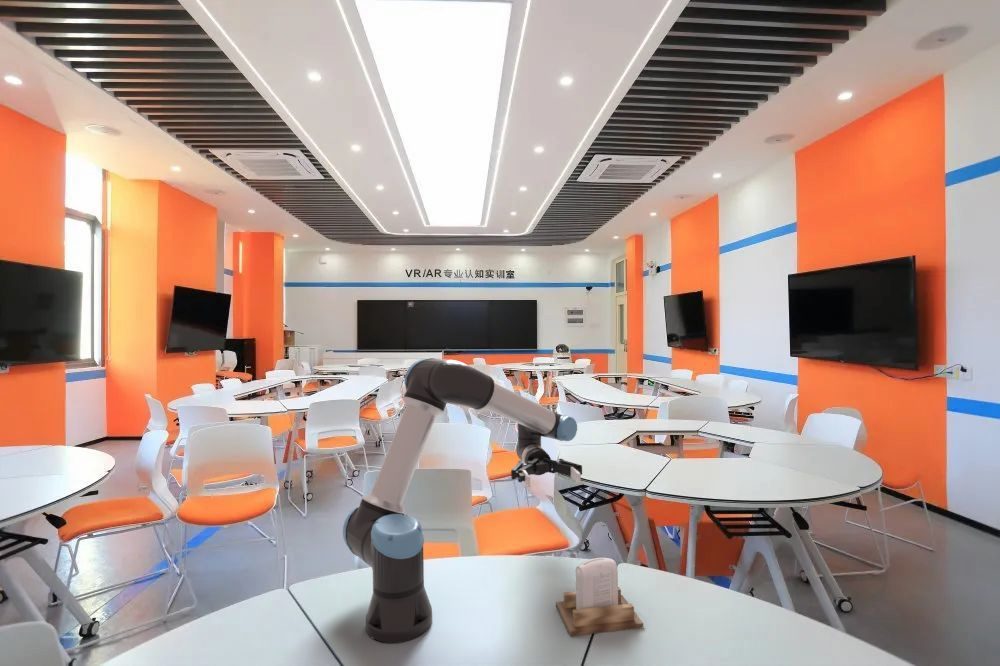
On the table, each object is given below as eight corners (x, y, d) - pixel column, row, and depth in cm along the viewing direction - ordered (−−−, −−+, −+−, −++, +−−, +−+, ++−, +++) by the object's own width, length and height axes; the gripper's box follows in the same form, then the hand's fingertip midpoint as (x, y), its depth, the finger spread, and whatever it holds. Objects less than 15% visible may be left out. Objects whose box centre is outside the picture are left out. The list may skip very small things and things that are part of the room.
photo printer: (611, 602, 118) (610, 551, 118) (621, 612, 114) (620, 559, 114) (573, 611, 114) (572, 559, 114) (582, 622, 110) (581, 567, 110)
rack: (570, 636, 107) (569, 617, 107) (556, 606, 119) (555, 589, 119) (643, 627, 109) (643, 609, 109) (622, 599, 121) (621, 583, 121)
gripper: (576, 469, 151) (600, 491, 130) (496, 474, 147) (507, 498, 126) (575, 445, 151) (599, 463, 130) (495, 449, 147) (507, 469, 126)
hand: (554, 480), depth 128 cm, fingers open, 13 cm apart
